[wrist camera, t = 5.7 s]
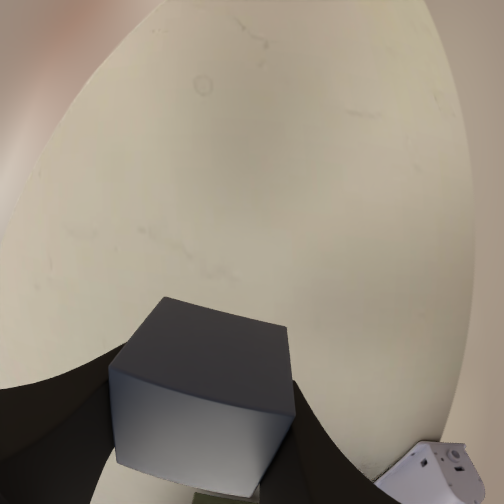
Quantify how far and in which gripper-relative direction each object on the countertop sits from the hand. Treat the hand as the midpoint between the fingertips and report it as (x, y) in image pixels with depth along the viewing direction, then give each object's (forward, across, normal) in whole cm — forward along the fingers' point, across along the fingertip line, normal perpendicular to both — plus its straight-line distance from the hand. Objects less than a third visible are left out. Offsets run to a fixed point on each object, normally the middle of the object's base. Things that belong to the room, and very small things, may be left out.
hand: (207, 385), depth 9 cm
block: (+1, 0, 0) cm, 1 cm away
